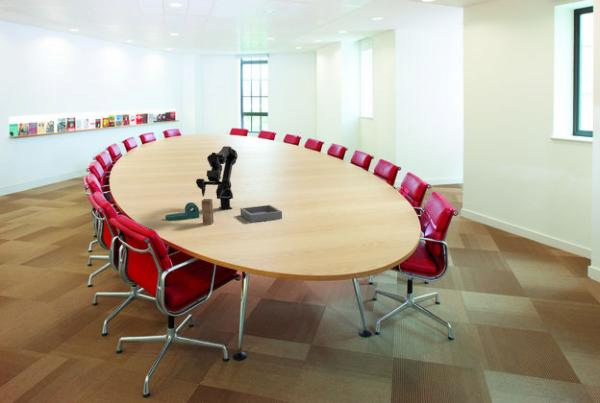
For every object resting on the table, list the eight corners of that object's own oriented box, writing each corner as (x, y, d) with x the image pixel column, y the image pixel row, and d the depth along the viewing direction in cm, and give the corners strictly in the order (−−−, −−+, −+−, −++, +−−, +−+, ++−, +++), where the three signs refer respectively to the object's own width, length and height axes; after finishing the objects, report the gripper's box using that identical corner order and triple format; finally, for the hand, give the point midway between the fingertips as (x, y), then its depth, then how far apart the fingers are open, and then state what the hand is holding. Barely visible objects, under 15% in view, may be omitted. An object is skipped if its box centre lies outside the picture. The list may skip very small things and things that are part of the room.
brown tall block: (205, 222, 260) (204, 198, 257) (213, 222, 260) (212, 198, 257) (202, 224, 256) (201, 200, 253) (211, 224, 255) (209, 200, 252)
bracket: (197, 215, 277) (196, 201, 275) (199, 217, 270) (198, 204, 269) (165, 218, 270) (163, 204, 268) (166, 221, 264) (165, 207, 262)
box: (240, 215, 274) (240, 208, 273) (270, 211, 282) (269, 204, 281) (251, 222, 258) (250, 215, 258) (282, 218, 266) (281, 211, 265)
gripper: (195, 164, 265) (190, 187, 257) (229, 164, 263) (224, 188, 254) (201, 175, 274) (196, 199, 266) (233, 176, 272) (229, 199, 264)
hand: (211, 196), depth 262 cm, fingers open, 9 cm apart
